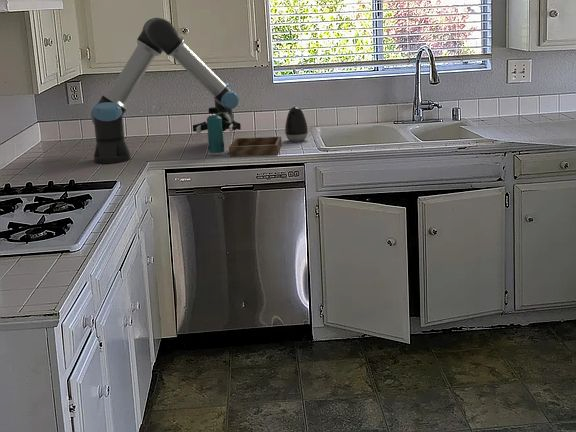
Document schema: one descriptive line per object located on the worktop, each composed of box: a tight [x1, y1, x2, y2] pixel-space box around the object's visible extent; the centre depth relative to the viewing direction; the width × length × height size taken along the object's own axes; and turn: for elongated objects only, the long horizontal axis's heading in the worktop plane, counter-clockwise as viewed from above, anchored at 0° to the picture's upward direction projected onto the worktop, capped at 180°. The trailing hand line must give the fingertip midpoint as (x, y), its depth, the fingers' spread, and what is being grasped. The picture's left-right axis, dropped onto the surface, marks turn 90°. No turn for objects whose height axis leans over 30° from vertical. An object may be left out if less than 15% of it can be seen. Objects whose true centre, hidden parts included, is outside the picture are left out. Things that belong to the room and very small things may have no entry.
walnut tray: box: [228, 136, 283, 158], centre depth 365 cm, size 20×20×4 cm
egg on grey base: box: [284, 106, 309, 143], centre depth 381 cm, size 10×10×15 cm
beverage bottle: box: [206, 106, 225, 154], centre depth 358 cm, size 6×7×20 cm
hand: (213, 130), depth 355 cm, fingers open, 13 cm apart
